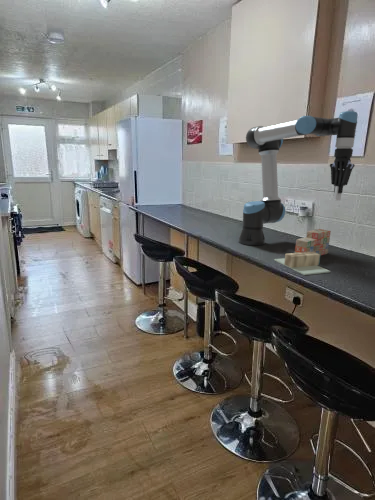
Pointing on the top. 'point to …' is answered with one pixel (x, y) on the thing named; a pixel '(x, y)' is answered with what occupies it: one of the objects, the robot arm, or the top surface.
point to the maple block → (302, 259)
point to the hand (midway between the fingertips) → (336, 200)
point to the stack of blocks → (314, 242)
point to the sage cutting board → (305, 268)
